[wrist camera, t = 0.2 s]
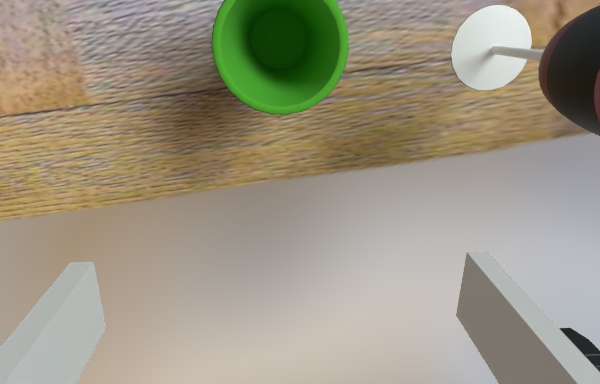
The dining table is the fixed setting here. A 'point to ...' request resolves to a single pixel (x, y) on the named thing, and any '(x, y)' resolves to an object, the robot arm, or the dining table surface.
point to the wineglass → (553, 60)
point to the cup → (280, 52)
